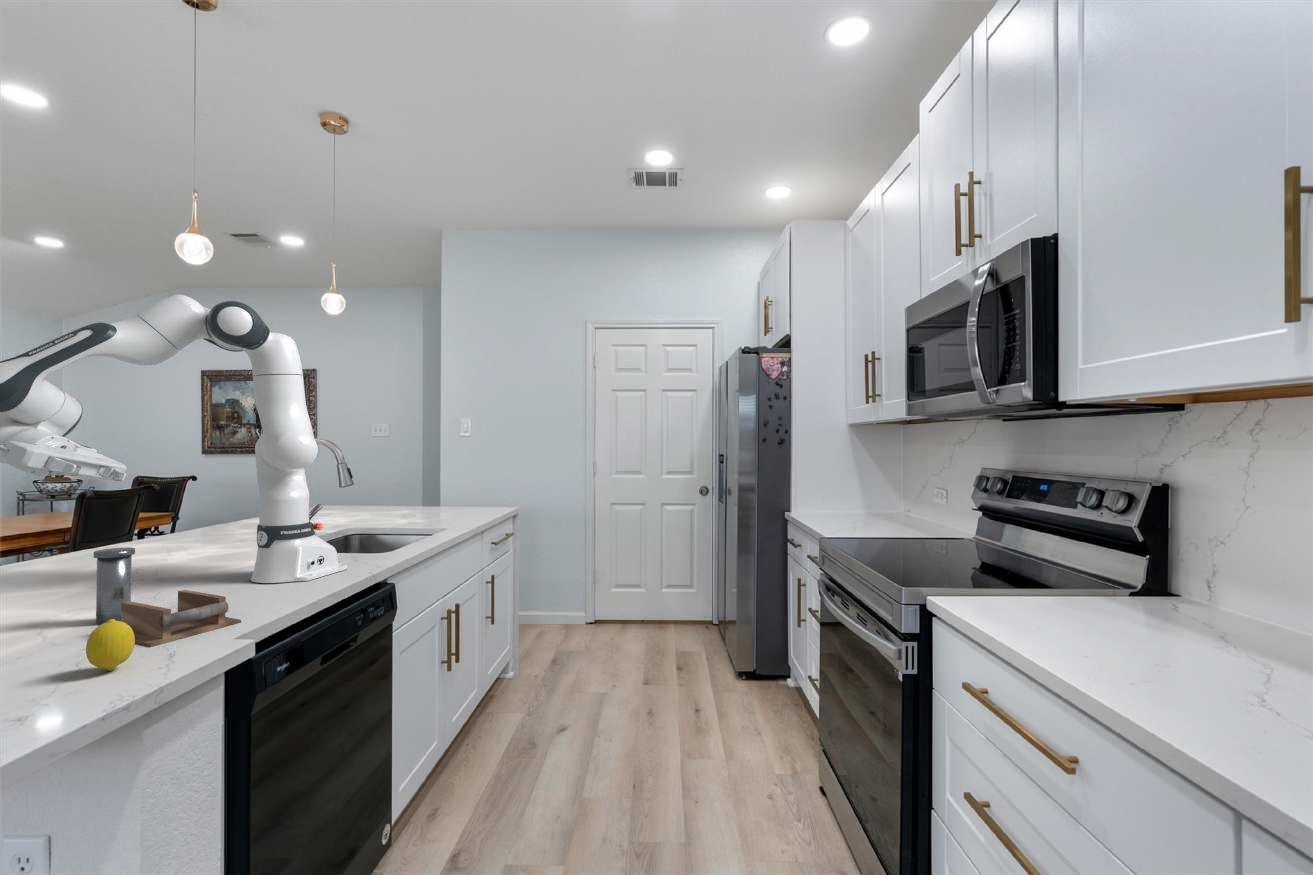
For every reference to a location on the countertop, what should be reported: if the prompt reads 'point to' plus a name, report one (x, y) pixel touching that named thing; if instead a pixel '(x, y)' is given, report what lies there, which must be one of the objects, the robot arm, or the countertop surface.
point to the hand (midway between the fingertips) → (100, 474)
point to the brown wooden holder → (176, 618)
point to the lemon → (110, 644)
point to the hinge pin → (112, 582)
